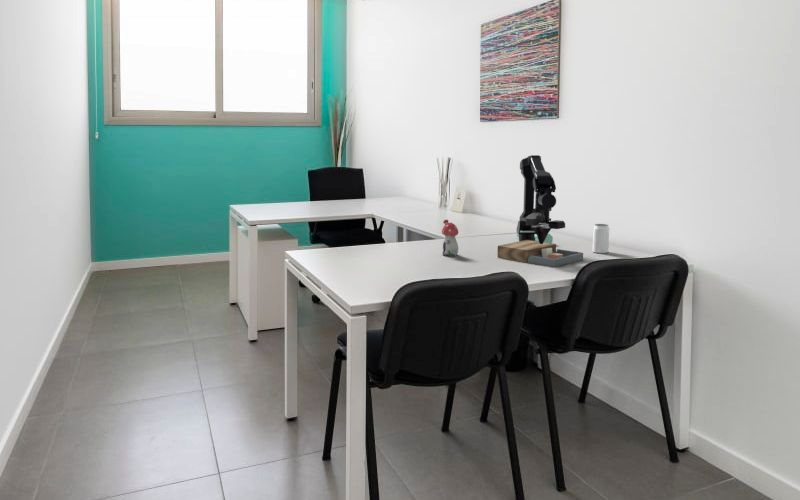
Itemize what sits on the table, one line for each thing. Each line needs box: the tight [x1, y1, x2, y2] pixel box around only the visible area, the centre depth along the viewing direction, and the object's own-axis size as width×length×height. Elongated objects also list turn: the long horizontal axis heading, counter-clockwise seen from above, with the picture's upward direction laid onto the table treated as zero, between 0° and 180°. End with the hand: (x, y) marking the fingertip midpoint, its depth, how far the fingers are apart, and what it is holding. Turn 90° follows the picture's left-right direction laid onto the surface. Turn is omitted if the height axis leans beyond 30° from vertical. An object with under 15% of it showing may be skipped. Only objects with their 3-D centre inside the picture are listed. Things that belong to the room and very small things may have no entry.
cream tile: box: [541, 248, 552, 258], centre depth 249 cm, size 4×4×2 cm
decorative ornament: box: [441, 219, 459, 257], centre depth 260 cm, size 9×6×15 cm
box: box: [527, 248, 584, 268], centre depth 245 cm, size 13×20×3 cm, turn 132°
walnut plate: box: [497, 240, 557, 263], centre depth 255 cm, size 15×20×5 cm
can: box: [592, 223, 610, 255], centre depth 262 cm, size 6×6×12 cm
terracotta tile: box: [548, 253, 563, 259], centre depth 245 cm, size 4×4×2 cm
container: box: [516, 231, 554, 244], centre depth 294 cm, size 6×6×25 cm
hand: (541, 244), depth 249 cm, fingers closed
